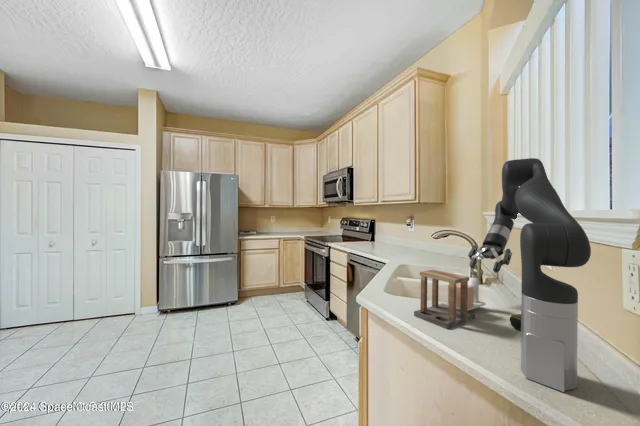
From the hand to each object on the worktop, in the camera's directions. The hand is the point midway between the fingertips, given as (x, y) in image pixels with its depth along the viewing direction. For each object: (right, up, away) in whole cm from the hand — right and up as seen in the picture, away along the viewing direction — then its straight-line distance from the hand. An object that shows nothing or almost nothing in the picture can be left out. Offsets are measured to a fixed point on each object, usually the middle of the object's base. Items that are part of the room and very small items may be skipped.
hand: (482, 269), depth 101 cm
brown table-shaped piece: (-21, -14, -12) cm, 28 cm away
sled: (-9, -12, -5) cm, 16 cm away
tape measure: (0, -14, -20) cm, 25 cm away
